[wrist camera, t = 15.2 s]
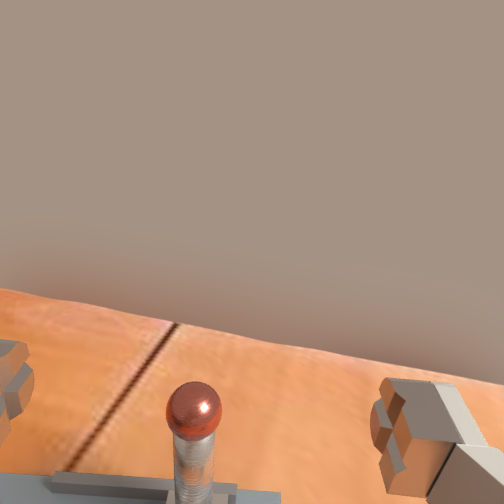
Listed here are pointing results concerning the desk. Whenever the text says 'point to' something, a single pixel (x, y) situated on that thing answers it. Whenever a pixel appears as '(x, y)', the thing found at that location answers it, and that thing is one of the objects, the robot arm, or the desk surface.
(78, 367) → the desk surface
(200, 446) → the lever
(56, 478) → the press bed
